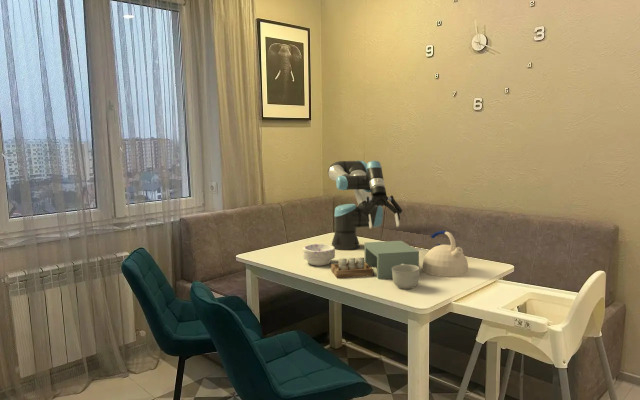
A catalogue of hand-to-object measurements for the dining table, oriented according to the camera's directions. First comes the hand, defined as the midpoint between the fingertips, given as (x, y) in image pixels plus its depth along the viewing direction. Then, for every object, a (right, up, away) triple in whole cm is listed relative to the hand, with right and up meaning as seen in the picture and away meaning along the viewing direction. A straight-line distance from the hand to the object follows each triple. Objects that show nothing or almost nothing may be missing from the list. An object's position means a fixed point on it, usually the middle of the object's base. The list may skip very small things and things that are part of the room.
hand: (384, 226), depth 234 cm
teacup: (+3, -22, -40) cm, 46 cm away
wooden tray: (-18, -20, -22) cm, 34 cm away
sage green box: (0, -19, -18) cm, 26 cm away
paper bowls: (-32, -17, -4) cm, 37 cm away
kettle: (+25, -19, -19) cm, 36 cm away
